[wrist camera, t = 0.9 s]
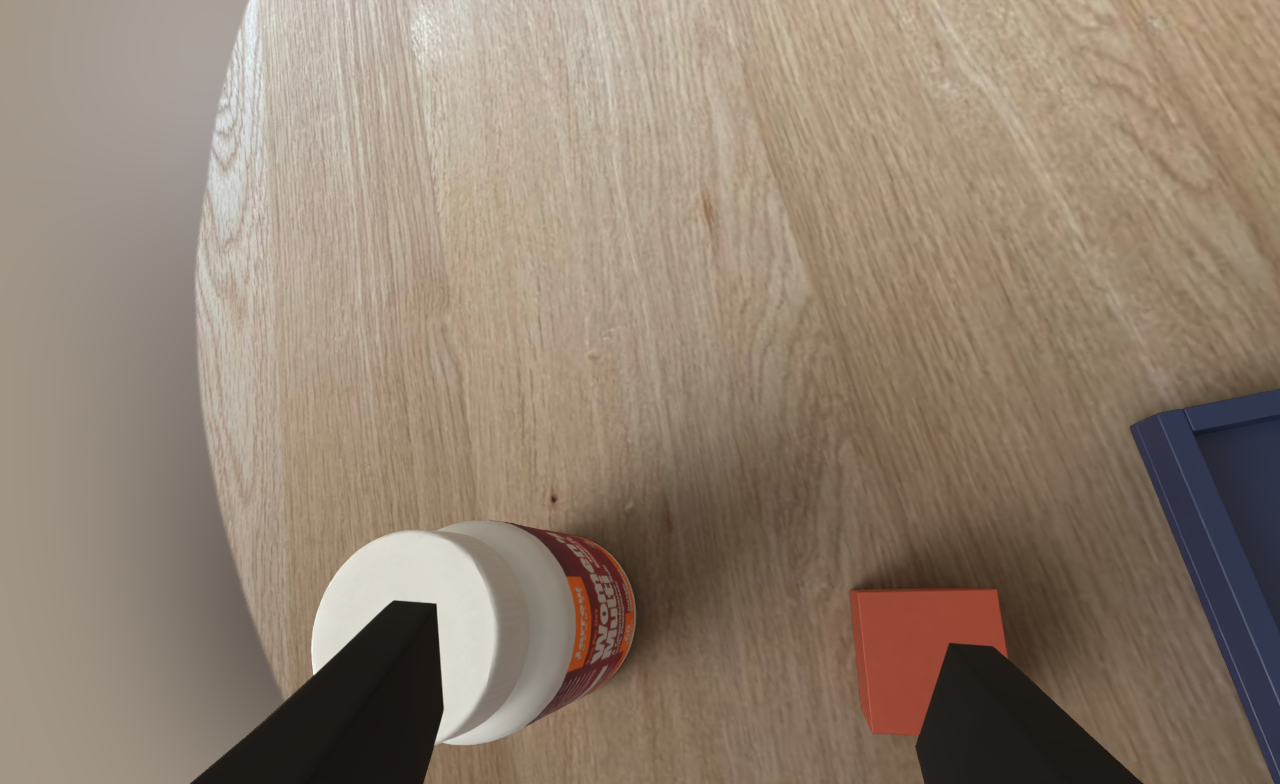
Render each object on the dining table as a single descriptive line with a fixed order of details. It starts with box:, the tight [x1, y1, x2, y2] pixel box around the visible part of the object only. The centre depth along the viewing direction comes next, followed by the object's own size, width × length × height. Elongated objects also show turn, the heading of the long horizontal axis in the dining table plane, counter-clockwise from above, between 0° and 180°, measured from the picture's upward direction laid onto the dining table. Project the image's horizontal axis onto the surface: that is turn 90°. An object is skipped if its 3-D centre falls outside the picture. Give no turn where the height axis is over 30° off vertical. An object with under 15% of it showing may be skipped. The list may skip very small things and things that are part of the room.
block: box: [849, 587, 1009, 735], centre depth 21 cm, size 4×4×4 cm
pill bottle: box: [311, 520, 636, 746], centre depth 21 cm, size 6×6×11 cm
